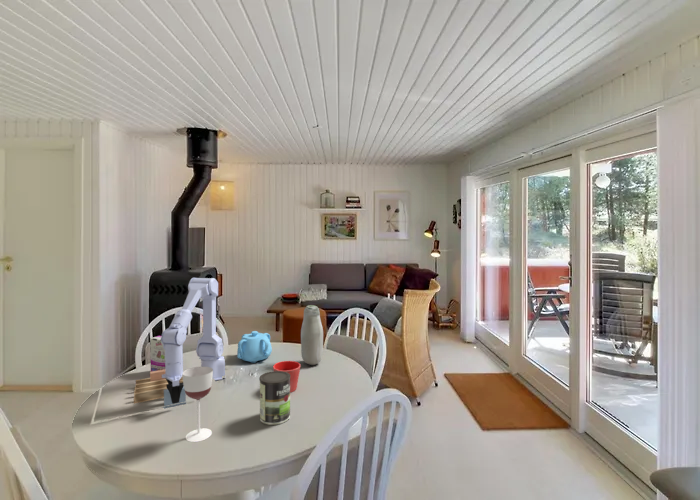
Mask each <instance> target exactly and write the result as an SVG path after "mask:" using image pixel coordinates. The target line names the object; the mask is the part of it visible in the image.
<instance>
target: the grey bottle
mask: <svg viewBox="0 0 700 500" xmlns="http://www.w3.org/2000/svg"><path fill="white" fill-rule="evenodd" d="M300 347H301V348H300V353H301V354H300V355H301V357H302V360H303V362H304V363H306V364H307V365H311V366H315V365H317V364H319V363H320V362H321V361H322V359H323V355H324V354H323V353H324V329H323V325H322V320H321V313H320V308H319V307H318V306H316V305H314V304H310V305H309V304H308V305H306V307H304V310H303V320H302V324H301V329H300Z"/></svg>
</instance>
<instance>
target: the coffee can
mask: <svg viewBox="0 0 700 500" xmlns="http://www.w3.org/2000/svg"><path fill="white" fill-rule="evenodd" d="M258 379H259V421H260V422H261V423H262V424H264V425H269V426H273V425H274V426H276V425H277V426H278V425H282V424H284V423H286V422H288V421H289V420H290V419H291V393H290V374H289V373H287V372H283V371H274V370H272V371H268V372H265V373H263V374H261V375H260V376H259V378H258ZM288 419H289V420H288Z"/></svg>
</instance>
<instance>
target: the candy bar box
mask: <svg viewBox="0 0 700 500" xmlns="http://www.w3.org/2000/svg"><path fill="white" fill-rule="evenodd" d="M161 337H162V335H157V336H154V337H151V338H150V339H149V347H150V352H149V353H150V355H149V357H150V359H149V360H150V372H152V371H158V370H164V369H165V350H164V348H163V344H162V342H161Z"/></svg>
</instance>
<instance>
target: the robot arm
mask: <svg viewBox="0 0 700 500" xmlns="http://www.w3.org/2000/svg"><path fill="white" fill-rule="evenodd" d="M187 289H188V294H187V295H186V299H185V300H184V303H183V306H182V308H181V309H179V310H177V311H176V312H175V315H174V317H173V319H172V320H171V323H170V325H169V327H168V328H166V329H164V330H163V331H162V333H161V336H162V337H161V342H162V344H163V348H164V350H165V374H163V375H162V378H165V379H166V380H167V382H168V384H166V387H167V389H168V390H169V393H170V396H171V401H172V404H171V405H174V403H176V404H179V400H180V395H181V391H182V388H183V386H184V385H183V382H182V383H179V381H180V379H181V377H182V373H183V372H184V361H183V360H184V359H183V358H184V357H183V353H184V352H183V350H184V349H183V344H184V343H185V341H186V339H187V333H188V330H187V329H188V327H189V325H190V322H191V321H192V319H193V315H192V312H193V311H194V308H195V307H196V305H197V304H198V302H199V300H200V299H202V336H201V337H200V338H199V339H198V340H197V344H196V348H195V353H196V355H197V357H198V359H199V360H200V367H210V368H212V369H213V378H212V380H215V382H216V381H221V380H223V379H222V376H224V375H225V376H226V362H225V361H226V360H225V357H224V355H223V353H224V348H225V347H224V343H223V339H222V338H221V337H220V336H219V335H218V334H217V297H218V296H219V281H217V279H216V278H214V277H211V278H210V277H209V278H208V277H192V278H191V279H190V280H189V282H188V286H187Z"/></svg>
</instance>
